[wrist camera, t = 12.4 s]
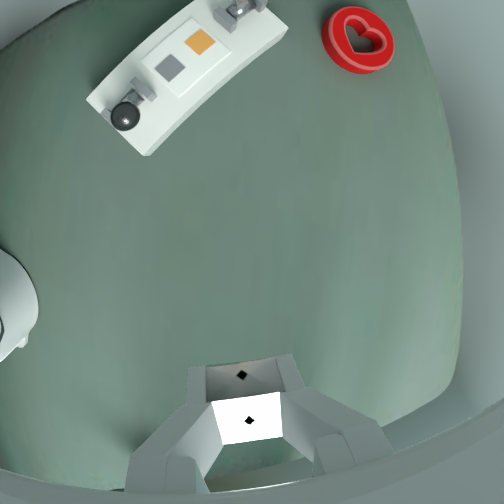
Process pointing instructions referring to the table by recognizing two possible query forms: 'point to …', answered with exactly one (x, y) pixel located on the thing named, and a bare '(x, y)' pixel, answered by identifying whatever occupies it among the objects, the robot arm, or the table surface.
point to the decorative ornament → (365, 27)
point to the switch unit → (185, 66)
